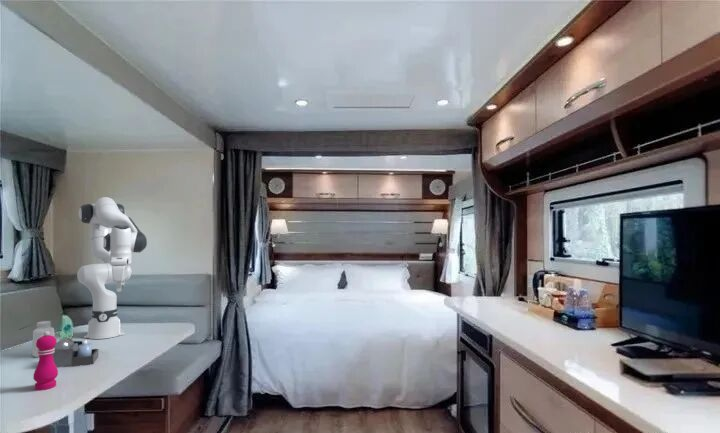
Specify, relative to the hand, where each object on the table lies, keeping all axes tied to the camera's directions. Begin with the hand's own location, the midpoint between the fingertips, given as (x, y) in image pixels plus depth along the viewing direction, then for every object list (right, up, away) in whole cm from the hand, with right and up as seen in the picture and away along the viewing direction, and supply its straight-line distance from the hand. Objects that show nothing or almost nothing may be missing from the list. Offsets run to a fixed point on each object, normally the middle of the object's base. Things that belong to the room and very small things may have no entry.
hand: (120, 290), depth 203 cm
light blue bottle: (-8, -29, -14) cm, 33 cm away
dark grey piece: (-11, -28, -15) cm, 34 cm away
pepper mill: (-2, -28, -45) cm, 53 cm away
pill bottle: (-33, -29, -4) cm, 44 cm away
